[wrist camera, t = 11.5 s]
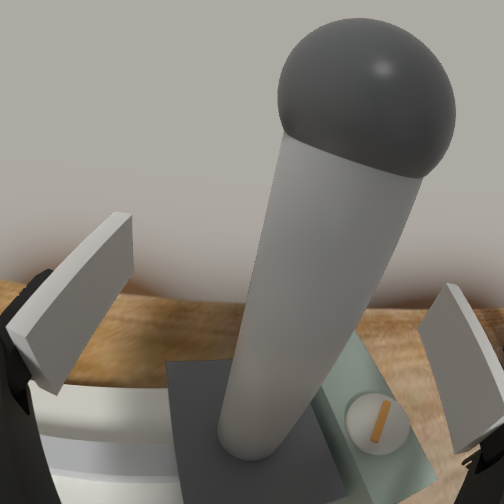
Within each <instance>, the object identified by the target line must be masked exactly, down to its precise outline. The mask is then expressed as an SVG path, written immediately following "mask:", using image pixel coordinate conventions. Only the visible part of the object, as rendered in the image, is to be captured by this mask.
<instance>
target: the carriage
mask: <svg viewBox="0 0 504 504" xmlns="http://www.w3.org/2000/svg"><path fill="white" fill-rule="evenodd" d="M278 110H279V116H280V120H281V123H282V126H283V129H284V134H283V138H282V143H281V147H280V152H279V156H278V161H277V165H276V170H275V175H274V179H273V184H272V188H271V193H270V197H269V202H268V206H267V211H266V215H265V220H264V225H263V229H262V233H261V238H260V242H259V247H258V251H257V256H256V260H255V265H254V269H253V274H252V278H251V282H250V287H249V291H248V296H247V300H246V305H245V309H244V313H243V318H242V322H241V327H240V331H239V336H238V340H237V344H236V349H235V353H234V357H233V359H224V360H204V361H169V362H166V373H167V388H168V400H169V410H170V419H171V427H172V435H173V443H174V451H175V458H176V464H177V471H178V477H179V483H180V489H181V494H182V499H183V504H332V503H334V502H336V501H338V500H341V499H343V498H345V497H347V496H348V494H347V492H346V489H345V487H344V484H343V482H342V479H341V477H340V474H339V472H338V470H337V467H336V465H335V462H334V460H333V457H332V455H331V452H330V450H329V448H328V445H327V443H326V440H325V438H324V435H323V433H322V430H321V428H320V426H319V423H318V421H317V418H316V416H315V413H314V411H313V408H312V406H311V403H310V402H311V400H312V399H313V397H314V396H315V394H316V393H317V391H318V390H319V388H320V387H321V385H322V383H323V382H324V380H325V379H326V377H327V375H328V374H329V372H330V371H331V369H332V367H333V366H334V364H335V362H336V361H337V359H338V357H339V356H340V354H341V352H342V351H343V349H344V347H345V346H346V344H347V342H348V340H349V339H350V337H351V335H352V333H353V331H354V330H355V328H356V326H357V324H358V322H359V320H360V319H361V317H362V315H363V313H364V311H365V309H366V307H367V305H368V303H369V301H370V299H371V298H372V296H373V294H374V292H375V290H376V288H377V285H378V284H379V282H380V279H381V277H382V275H383V273H384V271H385V269H386V267H387V265H388V263H389V261H390V258H391V256H392V254H393V252H394V249H395V247H396V245H397V243H398V240H399V238H400V236H401V233H402V231H403V229H404V226H405V224H406V221H407V219H408V216H409V214H410V211H411V209H412V206H413V204H414V201H415V198H416V196H417V193H418V191H419V188H420V185H421V182H422V180H423V177H425V176H426V175H427V174H429V173H430V171H432V170H433V169H434V168H435V167H436V166H437V164H438V163H439V162H440V161H441V159H442V158H443V156H444V155H445V153H446V151H447V149H448V147H449V145H450V142H451V140H452V136H453V132H454V128H455V118H456V107H455V99H454V94H453V89H452V87H451V84H450V81H449V79H448V76H447V74H446V72H445V70H444V68H443V67H442V65H441V63H440V62H439V61H438V59H437V58H436V56H435V55H434V54H433V53H432V52H431V51H430V49H428V47H427V46H425V44H424V43H422V42H421V41H420V40H418V39H417V38H416V37H414V36H413V35H412V34H410V33H409V32H407V31H405V30H403V29H401V28H399V27H397V26H395V25H392V24H390V23H386V22H383V21H379V20H373V19H367V18H352V19H343V20H339V21H335V22H331V23H329V24H326V25H324V26H321V27H319V28H318V29H316V30H314V31H313V32H311V33H310V34H308V35H307V36H306V37H305V38H304V39H302V40H301V41H300V42H299V43H298V45H296V47H295V48H294V49H293V50H292V52H291V53H290V55H289V56H288V58H287V60H286V62H285V64H284V67H283V69H282V72H281V76H280V79H279V85H278Z"/></svg>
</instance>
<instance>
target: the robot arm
mask: <svg viewBox="0 0 504 504" xmlns="http://www.w3.org/2000/svg"><path fill="white" fill-rule="evenodd" d="M133 265H134V264H133V241H132V215H131V214H126V213H121V212H116V211H115V212H114V213H113V214H112V215H111V216H109V218H107V219H106V220H105V221H104V222H103V223H102V224H101V225H100V226H99V227H98V228H97V229H95V230H94V231H93V232H92V233H91V234H90V236H88V237H87V238H86V239H85V240H84V241H83V242H82V243H81V244H80V245H79V246H78V247H77V248H76V249H75V250H74V251H73V252H72V253H71V254H70V255H69V256H68V257H67V258H66V259H65V260H64V261H63V262H62V263H61V264H60V265H59V266H58V267H57V268H56V269H55V270H54V271H53V270H50V269H47V270H45V271H43V272H42V273H40V274H38V275H36V276H35V277H34V278H33V279H32V280H31V281H30V282H29V284H28V285H27V287H26V288H24V289H23V290H22V291H21V292H20V293H19V296H17V297H16V298H15V299H14V300H13V301H12V302H11V303H10V305H9V306H8V307H7V308H6V309H5V310H4V312H3V313H2V314H1V315H0V504H62V503H61V500H60V498H59V495H58V493H57V490H56V487H55V484H54V482H53V479H52V476H51V473H50V470H49V467H48V463H47V460H46V457H45V453H44V450H43V446H42V443H41V439H40V435H39V431H38V426H37V422H36V417H35V413H34V408H33V403H32V397H31V391H30V388H29V385H28V382H29V381H30V379H31V377H33V379H34V381H35V382H36V384H37V386H38V387H40V388H41V389H43V390H45V391H47V392H49V393H51V394H53V395H55V396H57V395H58V393H59V392H60V390H61V388H62V386H63V384H64V382H65V381H66V379H67V377H68V375H69V374H70V372H71V370H72V368H73V367H74V365H75V363H76V362H77V360H78V358H79V356H80V355H81V353H82V351H83V350H84V348H85V346H86V345H87V343H88V341H89V340H90V338H91V337H92V335H93V333H94V332H95V330H96V329H97V327H98V325H99V324H100V322H101V321H102V319H103V318H104V316H105V314H106V313H107V311H108V310H109V308H110V307H111V305H112V304H113V302H114V301H115V299H116V298H117V296H118V295H119V293H120V292H121V290H122V289H123V287H124V286H125V284H126V283H127V281H128V280H129V278H130V277H131V275H132V274H133V272H134V266H133ZM417 329H418V332H419V334H420V337H421V340H422V343H423V345H424V348H425V351H426V354H427V357H428V360H429V363H430V366H431V369H432V372H433V375H434V378H435V381H436V385H437V388H438V391H439V395H440V398H441V402H442V405H443V409H444V412H445V416H446V420H447V424H448V428H449V432H450V436H451V440H452V445H453V449H454V454H458V453H463V452H468V451H470V450H471V449H472V448H474V447H475V446H477V445H478V444H479V443H480V447H481V449H479V450H478V451H477V452H475V453H474V454H472V455H471V456H469V457H468V458H466V459H465V460H464V461H463V462H462V465H464V464H466V463H467V462H469V461H470V460H471V461H472V462H471V463H470V464H468V465H467V466H466V468H467V469H469V470H468V473H467V475H466V478H465V480H464V482H463V485H462V487H461V489H460V491H459V494H458V496H457V498H456V500H455V502H454V504H504V367H503V365H502V363H501V362H500V360H499V359H498V358H497V356H496V354H495V352H494V350H493V348H492V346H491V344H490V342H489V340H488V338H487V336H486V334H485V332H484V330H483V328H482V326H481V324H480V323H479V321H478V319H477V317H476V315H475V314H474V312H473V310H472V308H471V307H470V305H469V303H468V302H467V300H466V298H465V297H464V295H463V293H462V291H461V290H460V288H459V287H458V285H455V284H450V283H445V284H444V286H443V288H442V289H441V291H440V293H439V294H438V296H437V298H436V300H435V301H434V303H433V304H432V306H431V308H430V309H429V311H428V312H427V314H426V316H425V317H424V319H423V320H422V322H421V323H420V325H419V326H418V328H417Z"/></svg>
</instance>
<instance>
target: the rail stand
mask: <svg viewBox="0 0 504 504" xmlns="http://www.w3.org/2000/svg"><path fill="white" fill-rule="evenodd" d="M28 385H29V388H30V391H31V397H32V403H33V408H34V413H35V417H36V422H37V426H38V431H39V435H40V439H41V443H42V446H43V450H44V453H45V457H46V460H47V463H48V467H49V470H50V473H51V476H52V479H53V482H54V484H55V487H56V490H57V493H58V495H59V498H60V500H61V503H62V504H183V499H182V494H181V489H180V483H179V477H178V471H177V464H176V458H175V451H174V443H173V435H172V427H171V419H170V410H169V400H168V388H110V387H91V386H78V385H67V384H63V386H62V388H61V390H60V392H59V393H58V395H57V396H55V395H53V394H51V393H49V392H47V391H45V390H43V389H41V388H40V387H38V386H37V384H36V382H35V381H32V380H30V381H29V382H28ZM310 403H311V406H312V408H313V411H314V413H315V416H316V418H317V421H318V423H319V426H320V428H321V430H322V433H323V435H324V438H325V440H326V443H327V445H328V448H329V450H330V452H331V455H332V457H333V460H334V462H335V465H336V467H337V470H338V472H339V474H340V477H341V479H342V482H343V484H344V487H345V489H346V492H347V494H348V496H347V497H345V498H343V499H341V500H338V501H336V502H334V503H332V504H397V503H399V502H401V501H402V500H404V499H406V498H408V497H410V496H411V495H413V494H415V493H416V492H418V491H420V490H422V489H423V488H425V487H426V486H428V485H430V484H431V483H433V482H434V481H436V480H437V479H438V478H437V476H436V474H435V472H434V470H433V468H432V466H431V464H430V462H429V460H428V458H427V456H426V454H425V453H424V451H423V449H422V447H421V445H420V443H419V441H418V439H417V437H416V435H415V434H414V432H413V430H412V428H411V426H410V424H409V420H408V417H407V414H406V412H405V411H404V409H403V408H402V406H401V405H400V404H399V403H398V402H397V401H396V399H395V397H394V395H393V394H392V392H391V390H390V388H389V387H388V385H387V383H386V381H385V380H384V378H383V376H382V374H381V373H380V371H379V369H378V368H377V366H376V364H375V362H374V361H373V359H372V357H371V356H370V354H369V352H368V351H367V349H366V347H365V345H364V344H363V342H362V340H361V339H360V337H359V335H358V334H357V332H356V331H355V330H354V331H353V333H352V335H351V337H350V339H349V340H348V342H347V344H346V346H345V347H344V349H343V351H342V352H341V354H340V356H339V357H338V359H337V361H336V362H335V364H334V366H333V367H332V369H331V371H330V372H329V374H328V375H327V377H326V379H325V380H324V382H323V383H322V385H321V387H320V388H319V390H318V391H317V393H316V394H315V396H314V397H313V399H312V400H311V402H310Z"/></svg>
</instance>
